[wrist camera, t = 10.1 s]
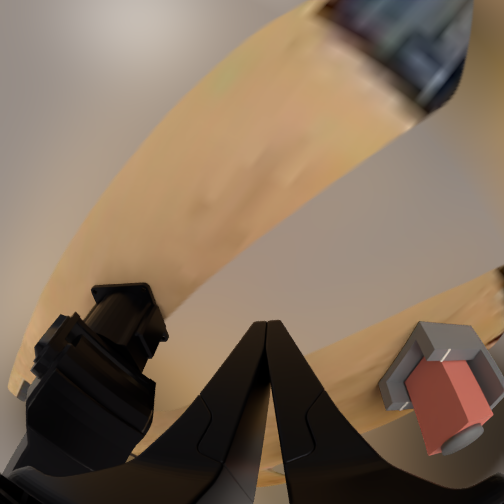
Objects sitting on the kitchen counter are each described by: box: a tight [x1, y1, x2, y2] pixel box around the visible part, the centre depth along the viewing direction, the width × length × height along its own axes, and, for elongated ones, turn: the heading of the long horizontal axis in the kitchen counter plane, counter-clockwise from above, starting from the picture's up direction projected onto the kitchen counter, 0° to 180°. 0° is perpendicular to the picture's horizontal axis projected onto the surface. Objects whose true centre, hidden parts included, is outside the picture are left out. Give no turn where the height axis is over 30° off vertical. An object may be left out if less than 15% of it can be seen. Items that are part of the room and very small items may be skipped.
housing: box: [378, 321, 504, 411], centre depth 21 cm, size 8×10×10 cm
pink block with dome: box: [405, 357, 493, 455], centre depth 19 cm, size 4×6×11 cm
